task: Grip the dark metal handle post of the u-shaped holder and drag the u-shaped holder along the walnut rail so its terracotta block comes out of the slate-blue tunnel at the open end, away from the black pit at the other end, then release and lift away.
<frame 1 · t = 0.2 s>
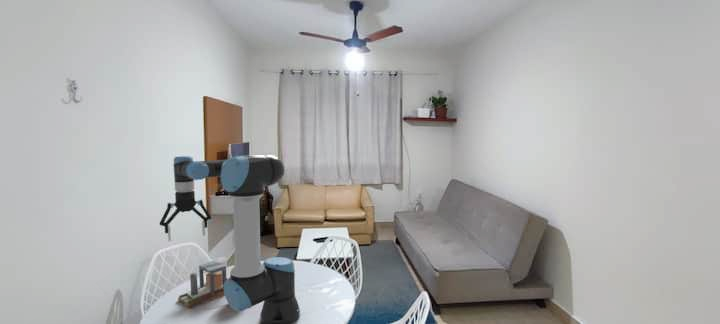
hand: (187, 237, 142), 27 cm above the table, fingers open, 13 cm apart
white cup: (218, 279, 160), on the table
track: (209, 294, 144), on the table
u-shaped holder: (206, 280, 143), point 7 cm above the table, slide at 0.0 cm
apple: (237, 302, 137), on the table
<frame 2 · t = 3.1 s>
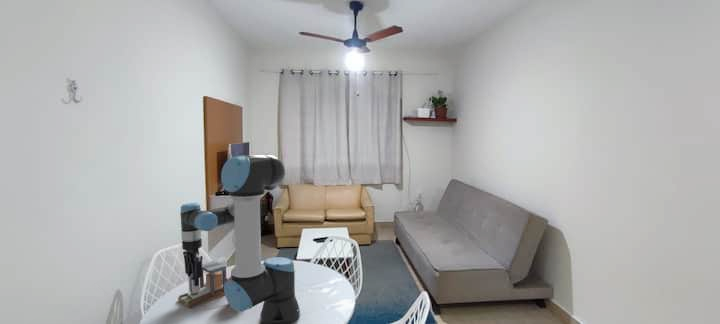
hand: (194, 291, 139), 4 cm above the table, fingers closed on u-shaped holder, 3 cm apart
u-shaped holder: (206, 280, 143), point 7 cm above the table, slide at 0.0 cm, touching gripper
everything else where it was.
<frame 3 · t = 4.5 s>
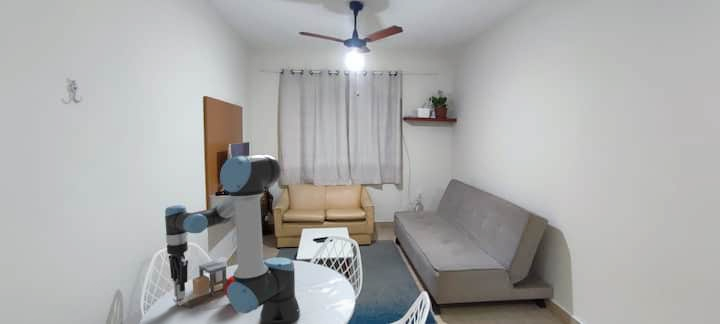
hand: (180, 296, 134), 4 cm above the table, fingers closed on u-shaped holder, 3 cm apart
u-shaped holder: (193, 285, 138), point 7 cm above the table, slide at 5.9 cm, touching gripper
everything else where it was.
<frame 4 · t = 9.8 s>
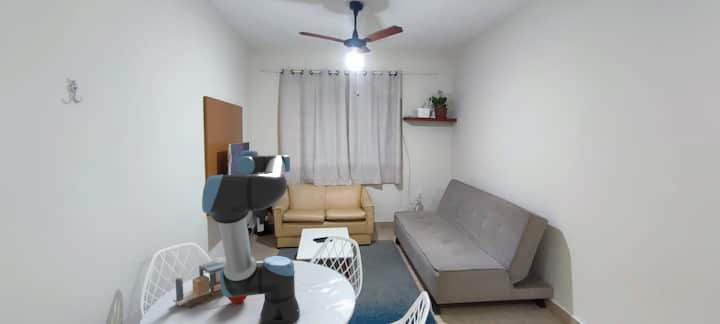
hand: (252, 228, 148), 29 cm above the table, fingers open, 13 cm apart
u-shaped holder: (192, 285, 138), point 7 cm above the table, slide at 6.0 cm
everything else where it was.
at the end: u-shaped holder slide at 6.0 cm; the gripper is holding nothing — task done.
